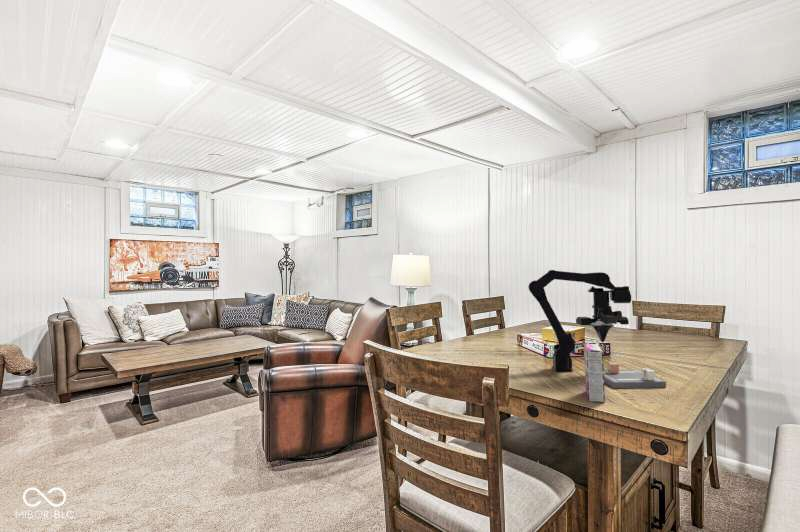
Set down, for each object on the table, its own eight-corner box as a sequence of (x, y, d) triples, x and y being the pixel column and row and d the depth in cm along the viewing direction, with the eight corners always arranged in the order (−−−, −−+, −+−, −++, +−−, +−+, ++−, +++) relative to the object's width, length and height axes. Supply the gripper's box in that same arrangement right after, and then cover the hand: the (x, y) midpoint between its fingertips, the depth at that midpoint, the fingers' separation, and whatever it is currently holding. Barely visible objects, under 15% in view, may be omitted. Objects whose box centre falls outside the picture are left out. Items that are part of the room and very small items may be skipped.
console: (614, 388, 139) (613, 382, 139) (592, 376, 155) (592, 370, 155) (666, 387, 139) (666, 381, 139) (639, 375, 155) (639, 369, 155)
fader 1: (612, 373, 150) (612, 364, 151) (607, 370, 154) (607, 362, 154) (619, 373, 150) (618, 364, 150) (614, 370, 154) (613, 362, 154)
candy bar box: (584, 391, 137) (583, 343, 137) (600, 392, 135) (599, 344, 135) (587, 401, 126) (586, 349, 126) (605, 403, 124) (603, 350, 125)
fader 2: (648, 380, 140) (647, 370, 140) (642, 377, 144) (641, 368, 144) (655, 380, 140) (654, 370, 140) (649, 377, 144) (648, 368, 144)
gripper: (587, 305, 154) (588, 346, 153) (636, 304, 153) (637, 345, 153) (574, 303, 165) (576, 341, 165) (620, 302, 164) (621, 340, 164)
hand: (602, 341), depth 161 cm, fingers closed
